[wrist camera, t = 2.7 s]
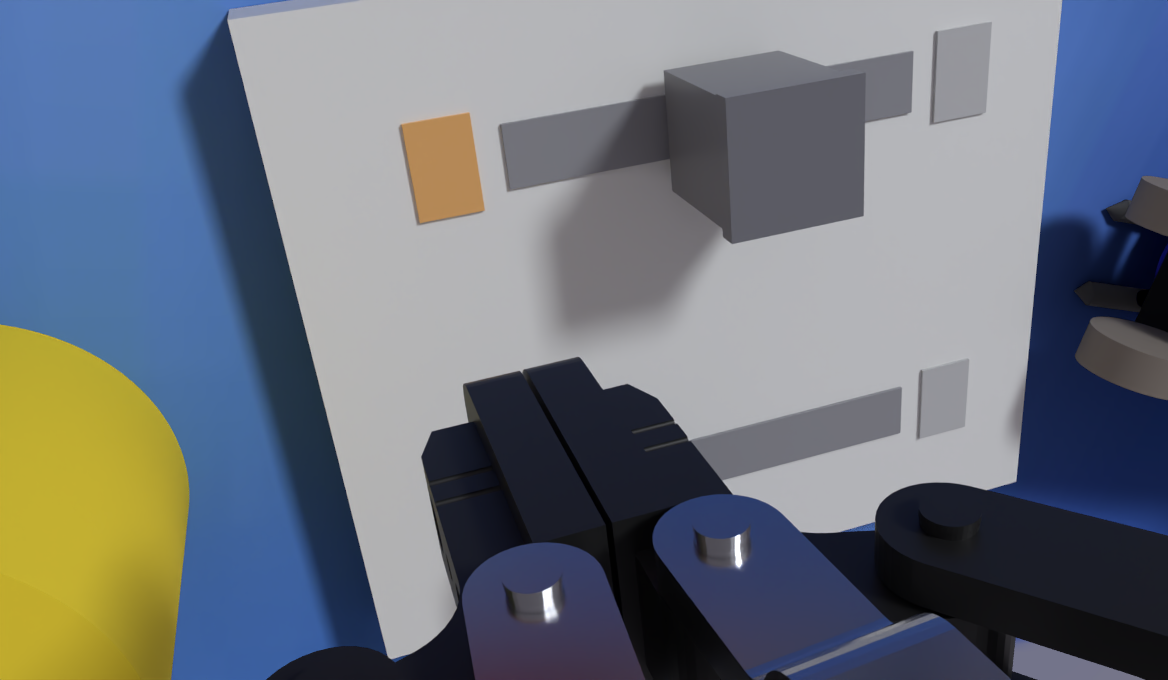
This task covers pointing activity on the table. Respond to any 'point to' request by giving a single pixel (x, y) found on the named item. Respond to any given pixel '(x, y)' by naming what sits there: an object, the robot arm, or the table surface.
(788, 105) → the handle
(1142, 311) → the black toy car
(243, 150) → the table surface
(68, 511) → the tape roll
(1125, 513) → the table surface
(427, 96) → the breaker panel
